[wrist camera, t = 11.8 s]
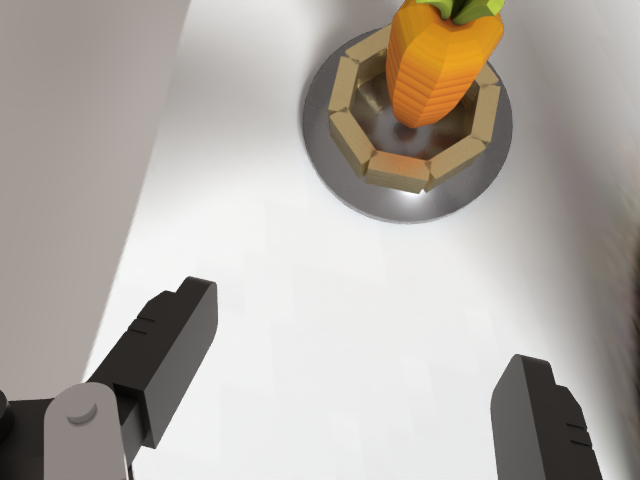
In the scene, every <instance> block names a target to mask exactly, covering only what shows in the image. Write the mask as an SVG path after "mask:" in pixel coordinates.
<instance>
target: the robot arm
mask: <svg viewBox="0 0 640 480" xmlns="http://www.w3.org/2000/svg"><path fill="white" fill-rule="evenodd" d="M217 325H218V304H217V284H216V283H215V282H212V281H208V280H204V279H199V278H195V277H191V276H188V277H187V278H186V279H185V280H184V281H183V283H182V284H181V286H180V287H179V288H178V290H177V291H176V293H174V292H170V291H166V290H165V291H163V292H162V293H160V294H159V295H157V296H156V297H154V298H153V299H151V300H150V301H148V302H147V304H146V305H145V306H144V308H143V309H142V310H141V312H140V313H139V314H138V316H137V319H135V320H134V321H133V322H132V323H131V325H130V326H129V327H128V330H127V332H126V331H125V333H124V334H123V335H122V337H121V338H120V339H119V341H118V342H117V343H116V345H115V346H114V347H113V348H112V350H111V351H110V352H109V354H108V355H107V356H106V358H105V359H104V360H103V362H102V363H101V364H100V366H99V367H98V368H97V370H96V371H95V372H94V374H93V375H92V376H91V377H90V378H89V380H87V381H86V382H85V383H81V384H78V385H75V386H72V387H70V388H68V389H66V390H65V391H64V392H62V393H60V394H59V395H58V396H57V397H56V398H52V399H40V400H21V401H7V399H6V396H5V395H4V393H3V392H2V391H1V390H0V480H135V475H134V468H133V460H134V458H135V456H136V454H137V453H138V451H139V449H140V447H141V446H146V447H149V448H153V449H156V447H157V445H158V443H159V441H160V440H161V438H162V436H163V434H164V432H165V430H166V428H167V426H168V425H169V423H170V421H171V419H172V417H173V415H174V413H175V411H176V409H177V408H178V406H179V404H180V402H181V400H182V398H183V396H184V394H185V393H186V391H187V389H188V387H189V385H190V383H191V381H192V379H193V378H194V376H195V374H196V372H197V370H198V368H199V366H200V364H201V362H202V361H203V359H204V357H205V355H206V353H207V351H208V349H209V347H210V346H211V344H212V342H213V339H214V337H215V334H216V330H217ZM490 409H491V421H492V430H493V438H494V447H495V456H496V465H497V474H498V480H603V479H602V475H601V472H600V469H599V465H598V462H597V459H596V456H595V452H594V450H592V442H591V439H590V436H589V432H587V426H586V422H585V419H584V416H583V412H582V409H581V407H580V405H579V404H578V402H577V401H576V400H575V398H574V397H573V395H572V394H571V392H570V391H569V390H568V388H567V387H564V386H560V385H556V383H555V380H554V376H553V372H552V368H551V365H550V363H549V362H548V361H545V360H541V359H537V358H533V357H528V356H524V355H520V354H515V355H514V356H513V357H512V359H511V361H510V362H509V364H508V366H507V368H506V369H505V371H504V373H503V375H502V376H501V378H500V380H499V382H498V383H497V385H496V387H495V389H494V391H493V394H492V399H491V408H490Z"/></svg>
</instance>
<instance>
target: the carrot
mask: <svg viewBox="0 0 640 480" xmlns="http://www.w3.org/2000/svg"><path fill="white" fill-rule="evenodd" d="M504 3H505V2H504V1H503V0H405V2H404V3H403V4H402V6H401V7H400V9H399V10H398V12H397V13H396V15H395V16H394V18H393V21H392V25H391V31H390V37H389V43H388V51H387V59H386V78H387V86H388V93H389V98H390V102H391V106H392V110H393V114H394V116H395V118H396V119H397V121H399V122H400V123H402V124H404V125H405V126H407V127H409V128H410V129H412V128H417V127H422V126H426V125H430V124H433V123H436V122H437V121H439V120H440V119H441V118H443V117H444V116H445V115H447V114H448V113H449V112H450V111H451V110H452V109H453V108H455V106H456V105H457V104H458V102H459V101H460V100H461V98H462V97H463V96H464V94H465V93H466V91H467V90H468V89H469V87H470V86H471V84H472V83H473V81H474V80H475V78H476V77H477V75H478V74H479V72H480V71H481V69H482V67H483V66H484V64H485V63H486V61H487V60H488V58H489V57H490V55H491V54H492V52H493V51H494V49H495V47H496V46H497V44H498V43H499V41H500V40H501V38H502V35H503V31H504V27H503V23H502V20H501V17H500V13H499V11H500V10H501V8H502V7H503V5H504Z"/></svg>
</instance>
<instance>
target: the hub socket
mask: <svg viewBox="0 0 640 480" xmlns="http://www.w3.org/2000/svg"><path fill="white" fill-rule="evenodd" d="M391 25H392V23H391V24H389V25H387V26H386V27H384V28H380V29H376V30H373V31H370V32H367V33H364V34H362V35H360V36H358V37H356V38H354V39H352V40H350V41H349V42H347V43H346V44H344V45H343V46H341V47H340V48H339V49H338V50H337V51H336V52H334V53H333V54H332V55H331V56H330V57H329V58H328V59H327V61H326V62H325V63H324V64H323V65H322V67H321V68H320V70H319V71H318V73H317V74H316V76H315V77H314V79H313V82H312V84H311V86H310V88H309V91H308V94H307V97H306V101H305V106H304V112H303V129H304V138H305V143H306V148H307V152H308V155H309V158H310V161H311V163H312V166H313V168H314V170H315V171H316V173H317V175H318V177H319V178H320V180H321V181H322V182H323V184H324V185H325V186H326V188H327V189H328V190H329V191H330V192H331V193H332V194H333V195H334V196H335V197H336V198H337V199H339V200H340V201H341V202H342V203H344V204H345V205H346V206H348V207H350V208H351V209H353V210H355V211H356V212H358V213H360V214H363V215H365V216H367V217H370V218H373V219H376V220H380V221H383V222H389V223H396V224H417V223H426V222H430V221H434V220H438V219H441V218H444V217H446V216H449V215H451V214H453V213H455V212H457V211H459V210H461V209H463V208H464V207H465V206H467V205H468V204H470V203H471V202H472V201H474V200H475V199H476V198H477V197H478V196H479V195H480V194H481V193H482V192H484V191H485V190H486V189H487V188H488V187H489V185H490V184H491V183H492V182H493V180H494V179H495V178H496V176H497V175H498V173H499V171H500V170H501V168H502V166H503V164H504V162H505V159H506V157H507V154H508V151H509V147H510V143H511V138H512V128H513V126H512V111H511V106H510V101H509V98H508V95H507V92H506V89H505V87H504V85H503V83H502V81H501V79H500V77H499V75H498V74H497V72H496V71H495V70H494V68H493V67H492V65H491V64H490V63H489V62H488V61H486V63H485V64H484V66H483V67H482V69H481V71H480V72H479V74H478V75H477V77H476V78H475V80H474V81H473V83H472V84H471V86H470V87H469V89H468V90H467V91H466V93H465V94H464V96H463V97H462V98H461V100H460V101H459V102H458V104H457V105H456V106H455V108H453V109H452V110H451V111H450V112H449V113H448V114H447V115H445V116H444V117H443V118H441V119H440V120H439V121H437V122H436V123H433V124H430V125H426V126H422V127H417V128H412V129H410V128H409V127H407V126H405V125H404V124H402V123H400V122H399V121H397V119H396V118H395V116H394V114H393V110H392V106H391V102H390V98H389V93H388V86H387V78H386V59H387V51H388V43H389V37H390V31H391Z"/></svg>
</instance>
